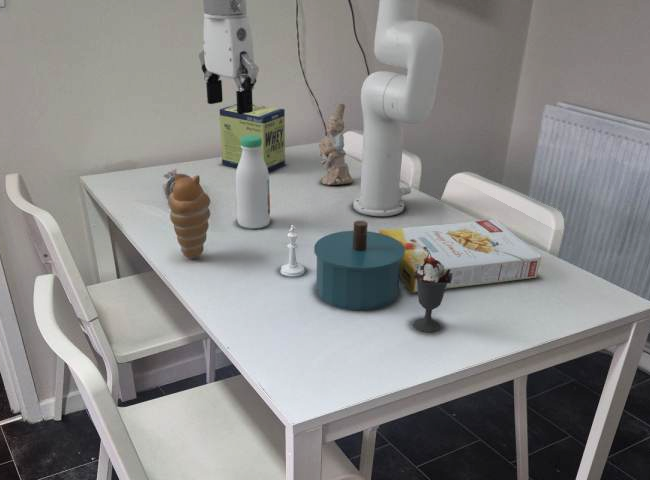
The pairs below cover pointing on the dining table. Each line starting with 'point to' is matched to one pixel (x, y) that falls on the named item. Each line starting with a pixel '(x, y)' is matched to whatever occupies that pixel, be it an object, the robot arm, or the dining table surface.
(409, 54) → the robot arm
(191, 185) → the cat ice cream
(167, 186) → the spaceship
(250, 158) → the milk bottle
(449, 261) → the cereal box
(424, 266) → the sundae
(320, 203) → the dining table surface
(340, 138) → the figurine
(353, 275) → the tin
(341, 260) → the tin lid
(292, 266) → the chess piece
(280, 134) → the protein box
